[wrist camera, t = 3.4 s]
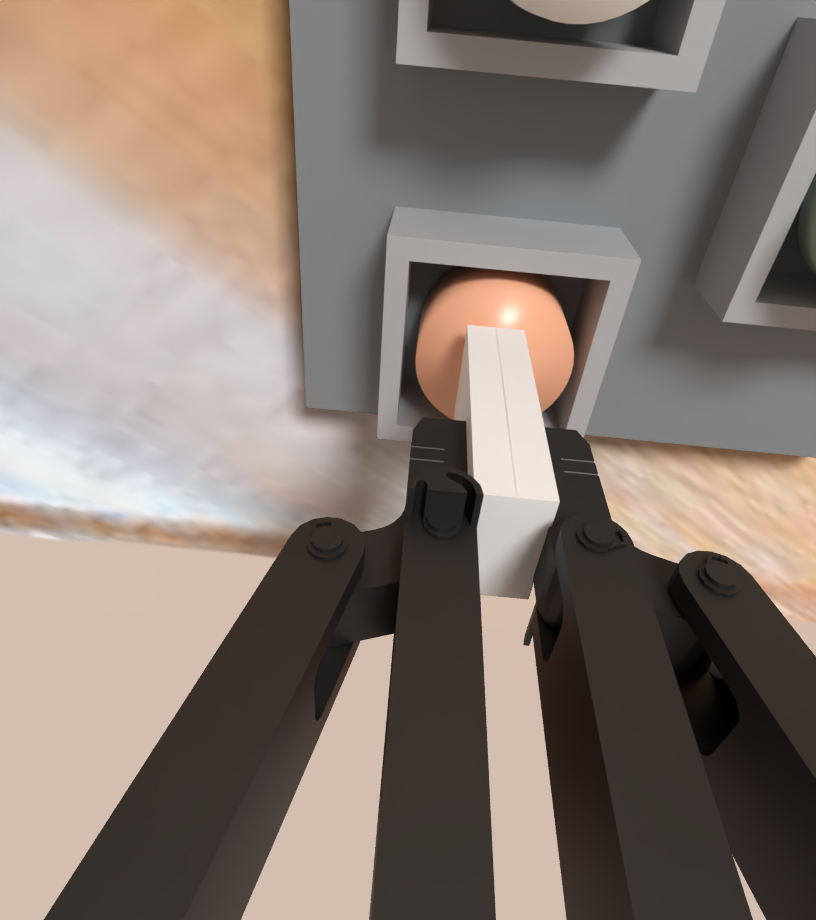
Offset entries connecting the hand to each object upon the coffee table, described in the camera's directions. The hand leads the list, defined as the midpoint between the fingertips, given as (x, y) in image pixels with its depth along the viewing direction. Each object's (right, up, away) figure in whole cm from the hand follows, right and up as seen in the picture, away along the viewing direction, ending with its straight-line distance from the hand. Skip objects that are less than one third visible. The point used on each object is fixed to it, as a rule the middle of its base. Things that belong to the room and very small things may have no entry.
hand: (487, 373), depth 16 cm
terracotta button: (0, +2, +2) cm, 3 cm away
